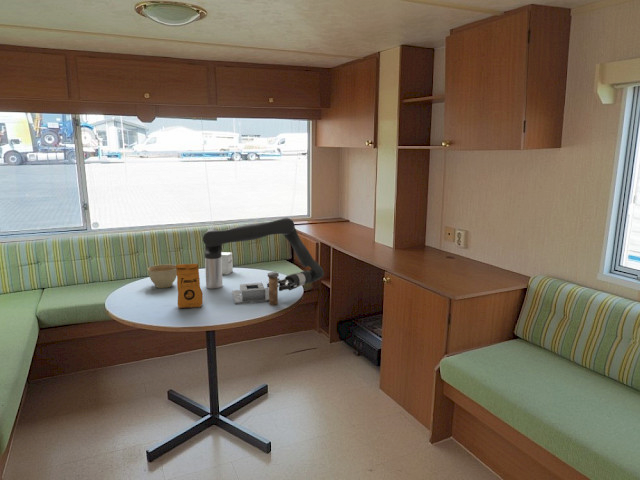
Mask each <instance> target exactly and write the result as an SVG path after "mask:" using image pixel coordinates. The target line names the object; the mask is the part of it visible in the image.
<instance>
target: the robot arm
mask: <svg viewBox="0 0 640 480" xmlns="http://www.w3.org/2000/svg"><path fill="white" fill-rule="evenodd" d="M295 227H296V226H295V222H294V221H293V219H291V218H288V217H284V218H279V219H276V220H271V221H266V222H264V221H263V222H253V223H246V224H241V225H237V226H235V227H230V228H229V229H224V230H219V229H216V228H209V229H208V230H207V231H205V233H203V236H202V242H203V244H204V245H205V247H204V266H205V270H204V272H205V288H206V289H220V288H222V287H223V282H224V281H223V274H222V256H221V253H222V252H223V246H222V245H224V244H228V243H238V242H247V241H254V240H259V239H261V238H264V237H267V236H270V235H271V236H272V235H283V236H284V237H285V239H286V240H287V241H288V242H289V244H290V245H291V248H292V249H293V251H294V253H295V255H296V256H297V258H298V260H299V263H300V264H301V265H302V267H303V268H307V267H308V268H309V270H304V271H300V272H295V273H291V274H288V275H286V276H285V278H283V279H280V278H279V277H277V278H278V291H279V292H283V291H287V290H288V291H291V290H294V289H297V288H299V287H301V286H304V285H307V284H311V283H314V282H316V281H318V280H320V279H322V278H323V277H324V275H325V272H324V269H323V268H322V266H321V265H320V264H319V263H318V262H317V261H316V260H315V259H314V258H313V257H312V254H311V253H310V251H309V250H308V249H307V247H306V246H305V244H304V243H303V241H302V240H301V238H300V237H299V235H298V232H297V229H296V228H295ZM266 288H269V282H267V283H266Z"/></svg>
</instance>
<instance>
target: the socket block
mask: <svg viewBox="0 0 640 480" xmlns="http://www.w3.org/2000/svg"><path fill="white" fill-rule="evenodd" d="M231 293H232V297H233V301H234V305H241V304H243V305H244V304H255V303H267V302H268V303H269V288H268V287H265V285H264V283H262V282H255V283H243V284H242V283H240V284H239V289H238V290H232V291H231Z"/></svg>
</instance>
